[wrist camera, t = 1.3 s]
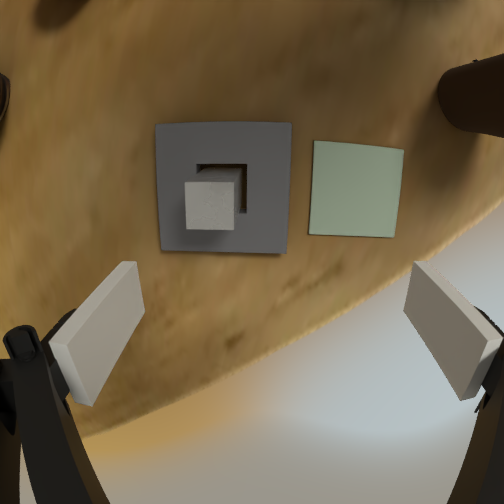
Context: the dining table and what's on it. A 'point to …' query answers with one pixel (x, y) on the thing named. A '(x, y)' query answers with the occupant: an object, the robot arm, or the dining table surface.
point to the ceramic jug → (4, 94)
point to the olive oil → (475, 96)
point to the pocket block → (226, 152)
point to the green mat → (355, 189)
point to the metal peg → (213, 199)
